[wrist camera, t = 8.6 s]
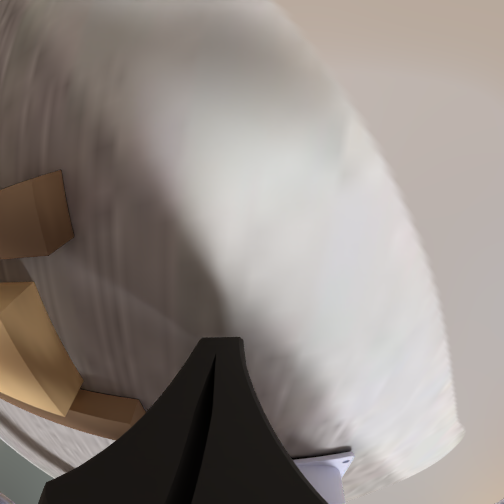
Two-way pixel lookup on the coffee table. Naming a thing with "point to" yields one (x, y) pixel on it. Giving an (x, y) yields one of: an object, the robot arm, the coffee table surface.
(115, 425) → the walnut dock
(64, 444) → the coffee table surface
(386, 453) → the coffee table surface
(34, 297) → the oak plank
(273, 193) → the coffee table surface
